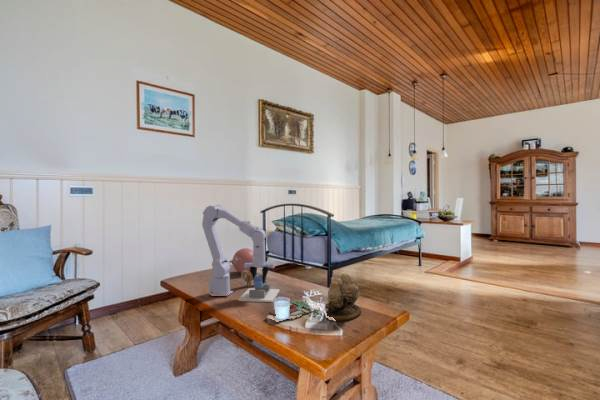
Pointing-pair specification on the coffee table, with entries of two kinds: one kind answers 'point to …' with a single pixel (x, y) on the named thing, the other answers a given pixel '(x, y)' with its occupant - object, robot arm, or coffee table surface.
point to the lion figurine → (248, 277)
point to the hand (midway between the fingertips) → (259, 282)
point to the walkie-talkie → (293, 311)
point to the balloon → (242, 259)
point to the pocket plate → (260, 294)
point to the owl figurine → (343, 299)
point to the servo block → (258, 281)
